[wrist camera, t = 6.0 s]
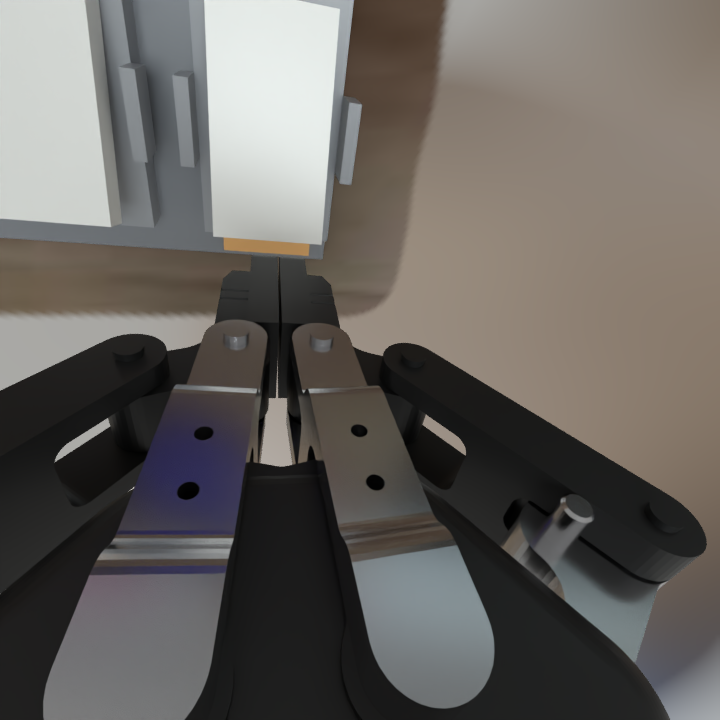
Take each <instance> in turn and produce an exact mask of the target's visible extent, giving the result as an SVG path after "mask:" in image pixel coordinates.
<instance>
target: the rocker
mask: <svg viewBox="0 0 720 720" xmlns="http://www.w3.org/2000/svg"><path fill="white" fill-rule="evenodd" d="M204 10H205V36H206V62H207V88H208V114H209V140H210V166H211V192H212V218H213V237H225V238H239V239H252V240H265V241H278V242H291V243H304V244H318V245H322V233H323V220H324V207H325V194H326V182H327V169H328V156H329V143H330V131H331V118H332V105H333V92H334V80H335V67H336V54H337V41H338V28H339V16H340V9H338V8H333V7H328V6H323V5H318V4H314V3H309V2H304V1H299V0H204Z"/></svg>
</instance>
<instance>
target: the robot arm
mask: <svg viewBox="0 0 720 720" xmlns="http://www.w3.org/2000/svg"><path fill="white" fill-rule="evenodd" d="M277 358H278V398H287V418H286V419H287V420H286V423H287V429H288V437H289V443H290V451H291V458H292V465H290V466H285V467H279V466H272V465H267V464H261V463H260V462H261V454H262V445H263V437H264V429H265V414H266V413H267V411H268V403H269V398H276V380H277ZM426 414H427V415H428V416H429V417H431V418H432V419H433V420H435V421H436V422H438V423H439V424H441V425H442V426H444V427H445V428H446V429H448V430H449V431H451V432H452V433H454V434H455V435H456V436H458V437H459V438H460V439H461V441H462V442H463V444H464V446H465V448H466V456H465V455H464V454H462V453H461V452H459V451H458V450H457V449H455V448H454V447H452V446H451V445H450V444H448V443H447V442H445V441H444V440H442V439H441V438H440V437H438V436H437V435H436V434H434V433H433V432H431V431H430V430H429V429H427V428H426V427H424V426H423V425H422V424H423V421H424V418H425V415H426ZM107 418H108V419H109V423H110V427H109V428H107V429H106V430H104V431H103V432H101V433H100V434H98V435H97V436H95V437H94V438H92V439H90V440H89V441H87V442H86V443H84V444H83V445H81V446H80V447H78V448H76V449H75V450H73V451H72V452H70V453H69V454H67V455H66V456H64V457H63V458H61V459H59V460H58V461H57V462H55V458H56V456H57V454H58V453H59V451H60V450H61V449H62V448H63V447H64V446H65V445H66V444H67V443H69V442H70V441H72V440H73V439H75V438H77V437H78V436H80V435H81V434H83V433H85V432H86V431H88V430H89V429H91V428H92V427H94V426H96V425H97V424H99V423H100V422H102V421H104V420H105V419H107ZM54 462H55V463H54ZM134 486H135V487H134ZM133 487H134V489H133V490H131V491H129V490H130V489H132V488H133ZM128 491H129V492H128ZM706 545H707V543H706V536H705V533H704V531H703V529H702V527H701V525H700V524H699V522H698V521H697V520H696V518H695V517H694V516H693V515H692V514H691V512H689V510H688V509H686V508H685V507H684V506H683V505H682V504H681V503H679V502H678V501H677V500H675V499H674V498H672V497H671V496H669V495H668V494H666V493H665V492H663V491H661V490H660V489H658V488H656V487H655V486H653V485H651V484H650V483H648V482H646V481H645V480H643V479H641V478H640V477H638V476H636V475H635V474H633V473H631V472H630V471H628V470H627V469H625V468H623V467H622V466H620V465H618V464H617V463H615V462H613V461H611V460H610V459H608V458H607V457H605V456H603V455H602V454H600V453H598V452H597V451H595V450H593V449H592V448H590V447H589V446H587V445H585V444H583V443H582V442H580V441H579V440H577V439H575V438H574V437H572V436H570V435H568V434H567V433H565V432H564V431H562V430H560V429H559V428H557V427H555V426H554V425H552V424H551V423H549V422H547V421H546V420H544V419H542V418H541V417H539V416H537V415H536V414H534V413H532V412H531V411H529V410H527V409H526V408H524V407H522V406H520V405H519V404H517V403H516V402H514V401H513V400H511V399H509V398H508V397H506V396H504V395H503V394H501V393H499V392H497V391H496V390H494V389H492V388H491V387H489V386H488V385H486V384H484V383H483V382H481V381H479V380H478V379H476V378H474V377H473V376H471V375H469V374H468V373H466V372H465V371H463V370H461V369H459V368H458V367H456V366H455V365H453V364H451V363H450V362H448V361H446V360H445V359H443V358H441V357H440V356H438V355H437V354H435V353H433V352H432V351H430V350H428V349H426V348H424V347H422V346H419V345H415V344H411V343H398V344H394V345H391V346H389V347H388V348H387V349H386V350H385V351H384V354H383V356H380V355H375V354H371V353H367V352H364V351H361V350H359V349H356V348H354V347H353V346H352V343H351V340H350V338H349V336H348V335H347V333H345V332H344V331H343V330H341V329H340V325H339V321H338V316H337V312H336V307H335V305H334V298H333V294H332V289H331V285H330V284H329V283H328V282H327V281H326V280H325V279H324V278H323V277H322V276H311V275H307V273H306V266H305V259H302V258H289V257H279V275H278V262H277V257H274V256H260V255H252V259H251V271H250V272H247V271H231V272H230V273H229V274H228V275H227V276H226V277H225V278H223V282H222V288H221V293H220V299H219V304H218V309H217V315H216V320H215V324H214V325H212V326H211V327H209V328H208V329H207V330H206V332H205V334H204V336H203V339H202V342H201V343H199V344H197V345H194V346H191V347H188V348H183V349H177V350H171V351H167V350H166V346H165V344H164V343H163V342H162V341H161V340H159V339H157V338H155V337H153V336H149V335H143V334H127V335H121V336H117V337H113V338H110V339H108V340H106V341H104V342H102V343H99V344H97V345H95V346H93V347H91V348H89V349H87V350H85V351H83V352H80V353H79V354H76V355H74V356H72V357H70V358H68V359H66V360H64V361H62V362H60V363H58V364H55V365H53V366H51V367H49V368H47V369H45V370H43V371H41V372H39V373H36V374H35V375H32V376H30V377H28V378H26V379H24V380H22V381H20V382H18V383H16V384H14V385H11V386H9V387H7V388H5V389H3V390H1V391H0V593H1V594H0V720H670V718H669V716H668V714H667V712H666V710H665V708H664V706H663V704H662V702H661V700H660V699H659V697H658V695H657V694H656V692H655V691H654V689H653V688H652V686H651V684H650V683H649V681H648V680H647V678H646V677H645V676H644V675H643V673H642V672H641V671H640V669H639V668H638V667H637V665H636V664H635V662H636V659H637V656H638V652H639V649H640V646H641V642H642V639H643V635H644V632H645V629H646V626H647V622H648V619H649V616H650V612H651V609H652V606H653V602H654V599H655V596H656V592H657V590H658V589H659V588H660V587H662V586H663V585H664V584H665V583H667V582H668V581H669V580H670V579H671V578H673V577H674V576H675V575H676V574H677V573H679V572H680V571H681V570H682V569H684V568H685V567H686V566H687V565H689V564H690V563H691V562H692V561H693V560H695V559H696V558H697V557H698V556H699V555H701V554H702V553H703V552H704V551H705V549H706ZM5 589H6V590H5Z"/></svg>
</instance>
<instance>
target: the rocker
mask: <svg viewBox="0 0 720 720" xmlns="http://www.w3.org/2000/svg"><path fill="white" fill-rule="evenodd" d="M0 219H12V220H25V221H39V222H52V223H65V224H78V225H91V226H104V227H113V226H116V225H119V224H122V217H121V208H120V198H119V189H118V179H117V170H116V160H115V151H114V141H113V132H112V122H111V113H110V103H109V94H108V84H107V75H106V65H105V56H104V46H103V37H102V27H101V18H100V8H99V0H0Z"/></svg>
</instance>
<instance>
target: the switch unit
mask: <svg viewBox="0 0 720 720" xmlns="http://www.w3.org/2000/svg"><path fill="white" fill-rule="evenodd" d="M299 1H304V2H309V3H314V4H318V5H323V6H328V7H333V8H338V9H340V16H339V28H338V41H337V54H336V67H335V80H334V92H333V105H332V118H331V131H330V143H329V156H328V169H327V182H326V194H325V207H324V220H323V233H322V245H318V244H304V243H291V242H278V241H265V240H252V239H239V238H225V237H213V218H212V192H211V166H210V140H209V114H208V88H207V62H206V36H205V10H204V0H99V8H100V18H101V27H102V37H103V46H104V56H105V65H106V75H107V84H108V94H109V103H110V113H111V122H112V132H113V141H114V151H115V160H116V170H117V179H118V189H119V198H120V208H121V217H122V224H119V225H116V226H113V227H104V226H91V225H78V224H65V223H52V222H39V221H25V220H12V219H0V238H13V239H28V240H43V241H57V242H72V243H87V244H102V245H116V246H131V247H146V248H160V249H175V250H190V251H205V252H219V253H234V254H249V255H263V256H278V257H293V258H308V259H322V260H323V251H324V242H325V241H327V237H328V228H329V219H330V210H331V201H332V192H333V183H334V174H336V176H337V179H338V181H339V183H340V184H347V185H351V183H352V176H353V168H354V161H355V153H356V146H357V139H358V131H359V124H360V117H361V109H362V104H361V103H360V102H359V101H358V100H357V99H356V98H353V97H346V96H343V93H344V84H345V75H346V66H347V57H348V48H349V39H350V30H351V21H352V12H353V3H354V0H299Z"/></svg>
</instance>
